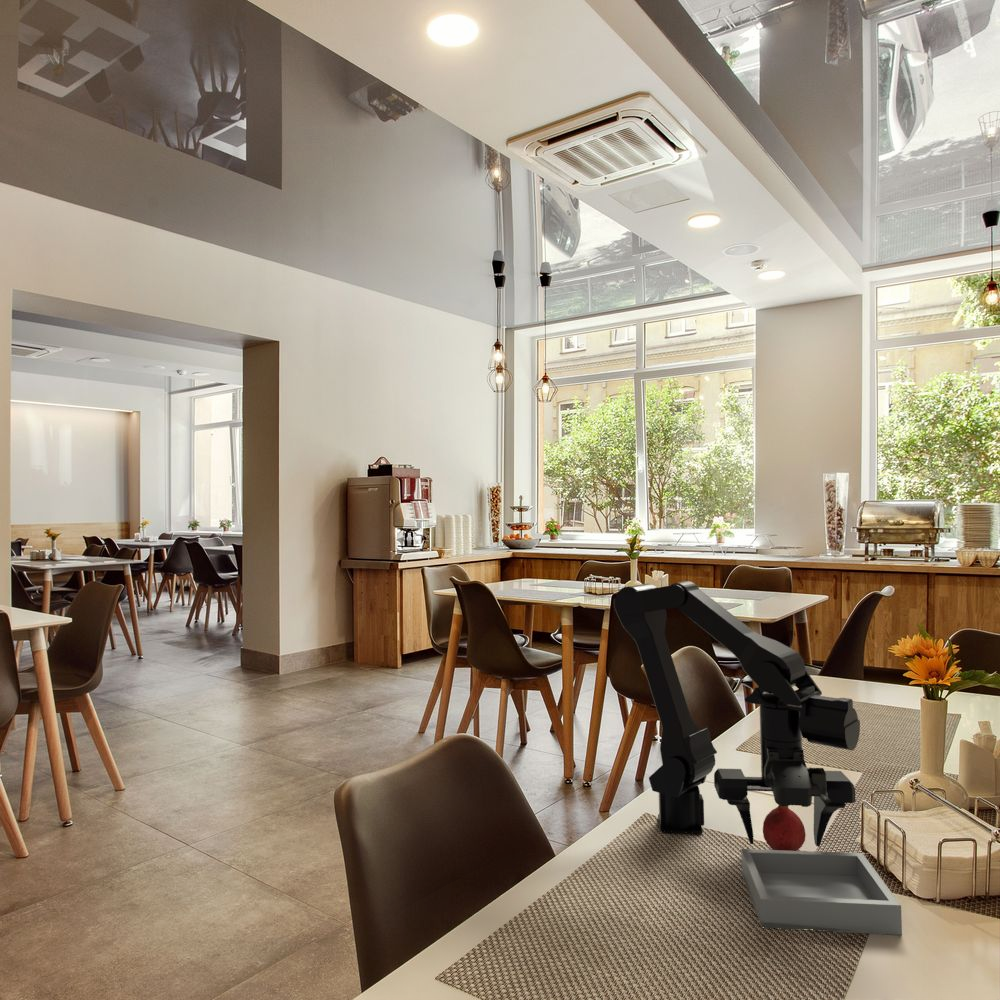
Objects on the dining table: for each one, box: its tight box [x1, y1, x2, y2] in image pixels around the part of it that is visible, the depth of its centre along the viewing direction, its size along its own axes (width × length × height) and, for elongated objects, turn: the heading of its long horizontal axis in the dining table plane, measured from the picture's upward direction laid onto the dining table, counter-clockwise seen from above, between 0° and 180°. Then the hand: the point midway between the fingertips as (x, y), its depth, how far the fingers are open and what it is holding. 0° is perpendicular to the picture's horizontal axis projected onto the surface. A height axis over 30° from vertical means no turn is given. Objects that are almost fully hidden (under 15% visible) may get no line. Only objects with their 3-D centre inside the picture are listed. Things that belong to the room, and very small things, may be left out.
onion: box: [762, 805, 807, 851], centre depth 113 cm, size 6×6×8 cm
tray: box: [740, 848, 903, 936], centre depth 100 cm, size 16×14×4 cm
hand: (784, 844), depth 113 cm, fingers open, 9 cm apart
